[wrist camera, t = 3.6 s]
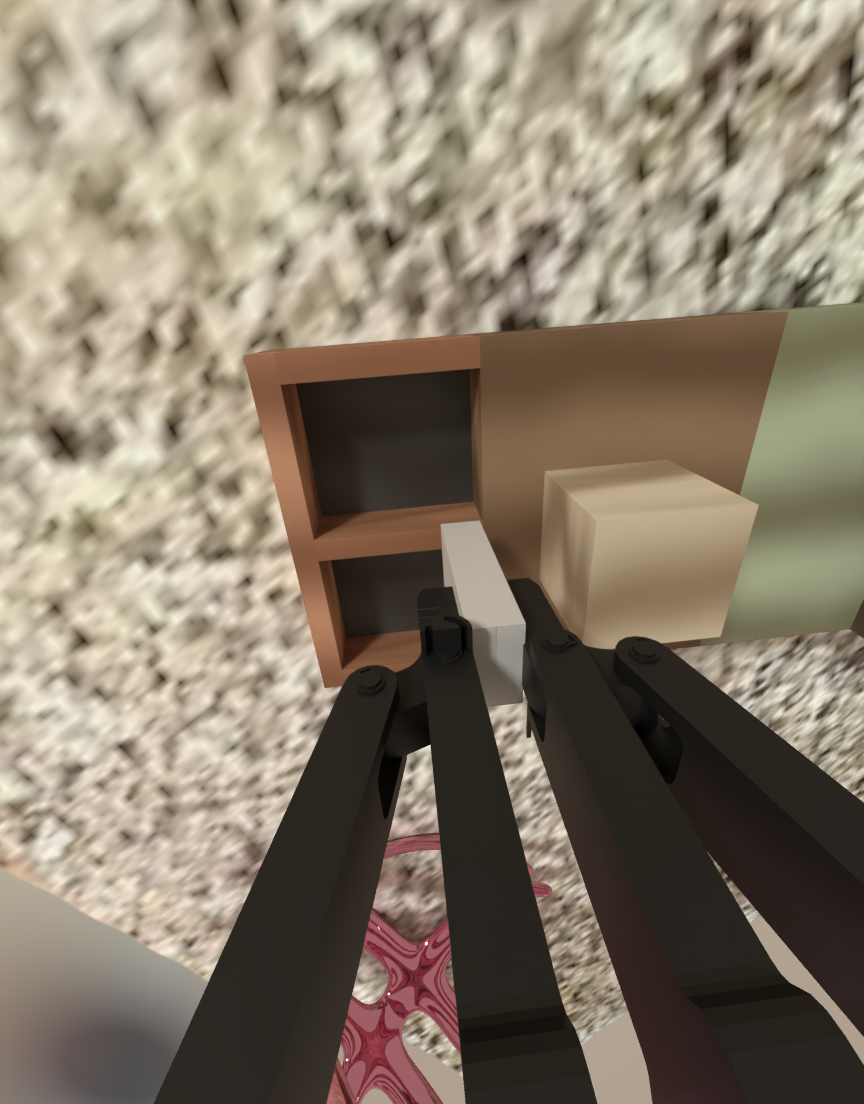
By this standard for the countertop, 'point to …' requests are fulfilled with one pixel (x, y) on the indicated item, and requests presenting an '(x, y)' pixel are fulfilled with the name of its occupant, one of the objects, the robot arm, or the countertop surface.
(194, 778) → the countertop surface
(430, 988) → the spiral basket
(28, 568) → the countertop surface
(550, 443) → the board
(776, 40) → the countertop surface
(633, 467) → the maple block
